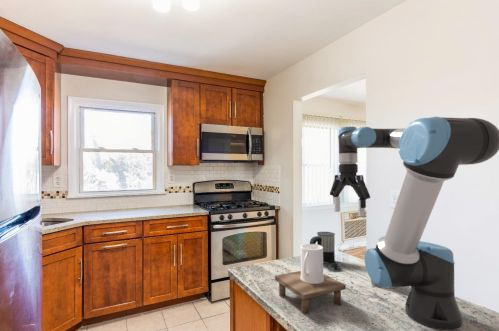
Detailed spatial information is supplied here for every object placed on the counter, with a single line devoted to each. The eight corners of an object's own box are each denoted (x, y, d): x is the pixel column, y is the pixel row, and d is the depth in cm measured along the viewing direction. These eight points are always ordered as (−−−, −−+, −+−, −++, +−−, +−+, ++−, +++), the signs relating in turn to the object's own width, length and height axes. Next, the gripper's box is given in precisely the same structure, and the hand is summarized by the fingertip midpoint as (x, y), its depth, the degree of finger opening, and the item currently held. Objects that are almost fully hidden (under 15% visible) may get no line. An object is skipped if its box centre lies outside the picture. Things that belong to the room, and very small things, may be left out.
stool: (345, 304, 96) (345, 284, 96) (303, 316, 88) (303, 294, 88) (313, 285, 112) (312, 268, 112) (275, 294, 104) (275, 275, 105)
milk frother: (324, 258, 148) (323, 230, 148) (350, 265, 136) (350, 235, 136) (307, 263, 139) (306, 234, 139) (334, 272, 127) (333, 240, 127)
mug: (314, 289, 92) (313, 253, 93) (291, 283, 98) (291, 249, 98) (327, 278, 102) (327, 246, 102) (306, 273, 107) (306, 242, 107)
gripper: (379, 162, 107) (380, 217, 106) (334, 164, 129) (334, 209, 129) (365, 162, 104) (366, 219, 103) (321, 164, 126) (322, 210, 126)
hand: (348, 213), depth 116 cm, fingers open, 13 cm apart
